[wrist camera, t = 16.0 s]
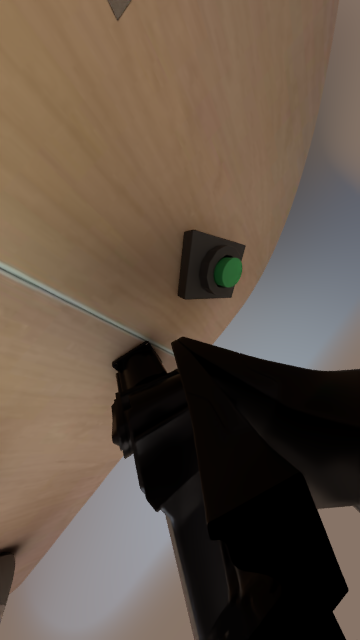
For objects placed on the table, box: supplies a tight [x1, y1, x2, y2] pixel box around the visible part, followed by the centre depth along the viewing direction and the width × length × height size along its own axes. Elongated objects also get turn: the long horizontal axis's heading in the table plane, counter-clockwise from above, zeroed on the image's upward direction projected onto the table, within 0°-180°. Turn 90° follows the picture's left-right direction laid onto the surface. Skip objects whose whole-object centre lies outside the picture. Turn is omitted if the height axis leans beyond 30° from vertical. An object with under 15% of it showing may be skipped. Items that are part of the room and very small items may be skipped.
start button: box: [214, 257, 242, 288], centre depth 19 cm, size 4×4×2 cm
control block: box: [178, 230, 245, 299], centre depth 21 cm, size 11×9×4 cm
